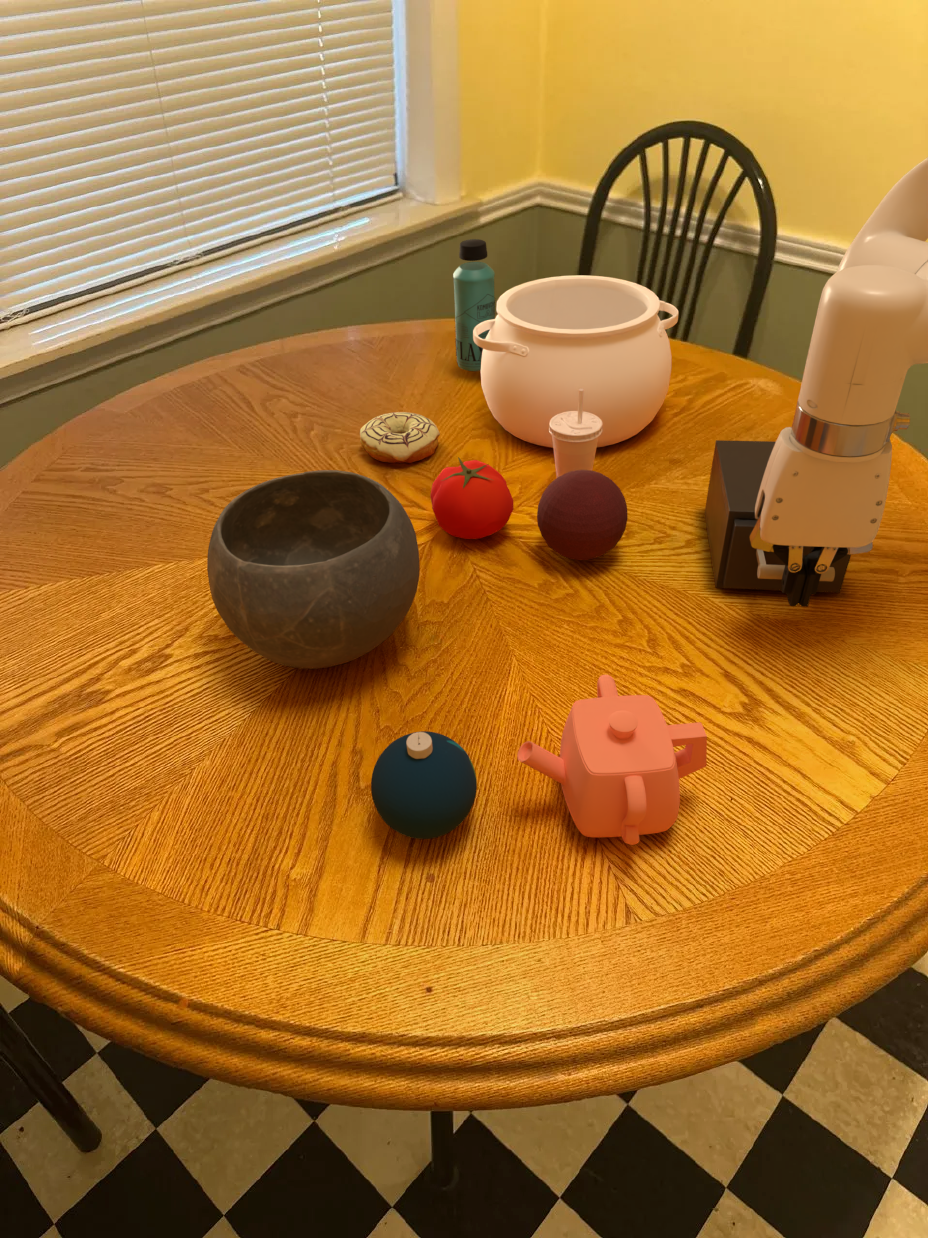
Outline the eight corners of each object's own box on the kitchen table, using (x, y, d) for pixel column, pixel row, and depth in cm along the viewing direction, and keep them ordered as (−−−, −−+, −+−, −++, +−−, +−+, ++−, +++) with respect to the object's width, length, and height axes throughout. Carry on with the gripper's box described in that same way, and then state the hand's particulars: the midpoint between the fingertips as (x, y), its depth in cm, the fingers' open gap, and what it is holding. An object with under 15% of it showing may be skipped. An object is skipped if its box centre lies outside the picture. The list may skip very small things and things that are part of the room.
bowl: (413, 565, 98) (400, 447, 89) (439, 688, 83) (428, 562, 73) (233, 590, 96) (201, 472, 87) (226, 721, 81) (185, 595, 71)
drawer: (846, 618, 86) (866, 554, 81) (728, 613, 88) (740, 549, 83) (814, 520, 100) (830, 460, 95) (712, 517, 101) (722, 458, 96)
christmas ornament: (483, 855, 68) (478, 773, 62) (377, 865, 68) (361, 783, 61) (474, 773, 74) (469, 691, 68) (377, 782, 74) (363, 700, 68)
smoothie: (578, 511, 105) (583, 405, 96) (537, 494, 109) (538, 390, 100) (608, 489, 109) (616, 385, 100) (568, 473, 112) (571, 371, 103)
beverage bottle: (448, 375, 138) (440, 244, 125) (472, 360, 142) (466, 232, 129) (482, 384, 134) (478, 250, 122) (505, 368, 139) (503, 238, 126)
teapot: (512, 806, 72) (511, 727, 65) (601, 728, 78) (607, 648, 72) (626, 890, 65) (636, 810, 59) (713, 797, 71) (730, 716, 65)
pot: (502, 474, 113) (500, 354, 102) (456, 391, 133) (450, 283, 122) (704, 441, 117) (722, 322, 107) (630, 365, 137) (639, 259, 127)
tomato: (456, 500, 109) (452, 440, 103) (529, 520, 104) (529, 459, 99) (416, 538, 102) (410, 477, 97) (492, 561, 98) (490, 498, 93)
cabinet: (840, 593, 91) (863, 515, 85) (715, 588, 93) (729, 510, 86) (814, 516, 102) (833, 442, 96) (704, 513, 104) (715, 439, 98)
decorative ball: (533, 529, 103) (534, 455, 96) (617, 525, 103) (623, 451, 96) (540, 580, 95) (541, 503, 89) (630, 576, 95) (638, 498, 89)
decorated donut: (409, 475, 114) (407, 450, 111) (347, 456, 119) (343, 431, 116) (453, 442, 120) (452, 417, 118) (392, 425, 125) (390, 400, 123)
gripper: (922, 406, 74) (867, 577, 86) (742, 404, 76) (713, 571, 87) (948, 449, 68) (886, 626, 80) (754, 445, 70) (720, 618, 82)
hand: (795, 597), depth 84 cm, fingers closed
